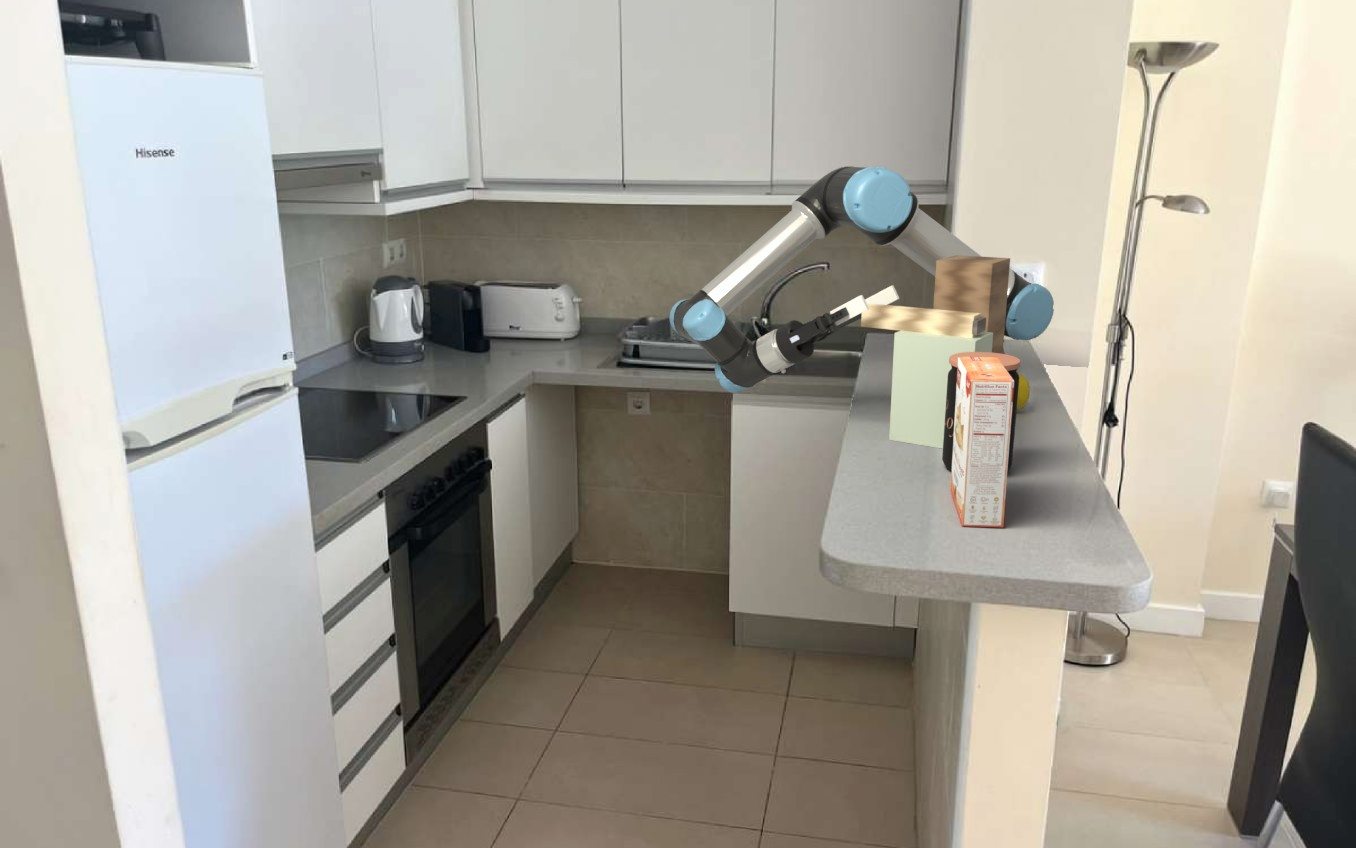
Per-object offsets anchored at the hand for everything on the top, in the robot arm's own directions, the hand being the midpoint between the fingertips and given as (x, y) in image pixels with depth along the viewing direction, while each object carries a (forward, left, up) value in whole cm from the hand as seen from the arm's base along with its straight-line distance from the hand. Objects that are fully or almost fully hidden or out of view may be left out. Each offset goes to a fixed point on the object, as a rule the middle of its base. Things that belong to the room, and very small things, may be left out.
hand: (881, 296), depth 175 cm
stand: (-16, +8, -24) cm, 30 cm away
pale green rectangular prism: (-2, +11, -24) cm, 27 cm away
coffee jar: (+8, +24, -24) cm, 35 cm away
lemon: (-28, +12, -24) cm, 39 cm away
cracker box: (+25, +33, -25) cm, 48 cm away
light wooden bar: (-1, +7, -5) cm, 9 cm away
